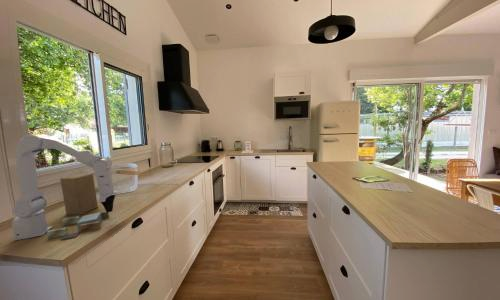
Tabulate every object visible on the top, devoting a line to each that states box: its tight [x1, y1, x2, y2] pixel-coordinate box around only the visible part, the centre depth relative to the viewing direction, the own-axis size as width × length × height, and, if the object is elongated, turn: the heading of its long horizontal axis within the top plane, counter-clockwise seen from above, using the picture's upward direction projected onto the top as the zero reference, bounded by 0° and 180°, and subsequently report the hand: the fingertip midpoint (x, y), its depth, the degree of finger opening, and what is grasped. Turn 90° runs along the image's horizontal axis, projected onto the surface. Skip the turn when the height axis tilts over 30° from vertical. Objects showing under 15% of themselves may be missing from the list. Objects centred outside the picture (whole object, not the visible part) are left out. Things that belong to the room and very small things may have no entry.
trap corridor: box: [46, 210, 110, 241], centre depth 91 cm, size 18×22×3 cm
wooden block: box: [59, 173, 99, 216], centre depth 110 cm, size 10×10×20 cm
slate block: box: [76, 212, 103, 232], centre depth 93 cm, size 7×8×4 cm
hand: (109, 211), depth 95 cm, fingers closed
